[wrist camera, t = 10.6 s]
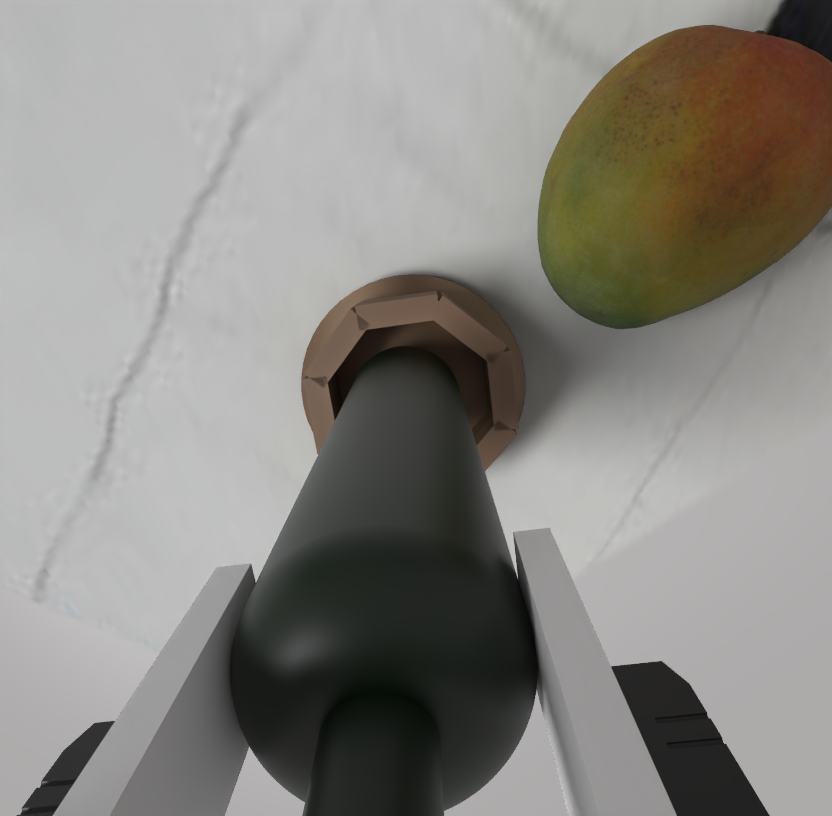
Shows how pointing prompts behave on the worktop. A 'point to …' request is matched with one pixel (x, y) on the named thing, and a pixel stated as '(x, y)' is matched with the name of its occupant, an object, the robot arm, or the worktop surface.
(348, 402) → the wine bottle
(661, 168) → the fruit
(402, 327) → the bowl
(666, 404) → the worktop surface
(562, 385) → the worktop surface
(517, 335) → the worktop surface
